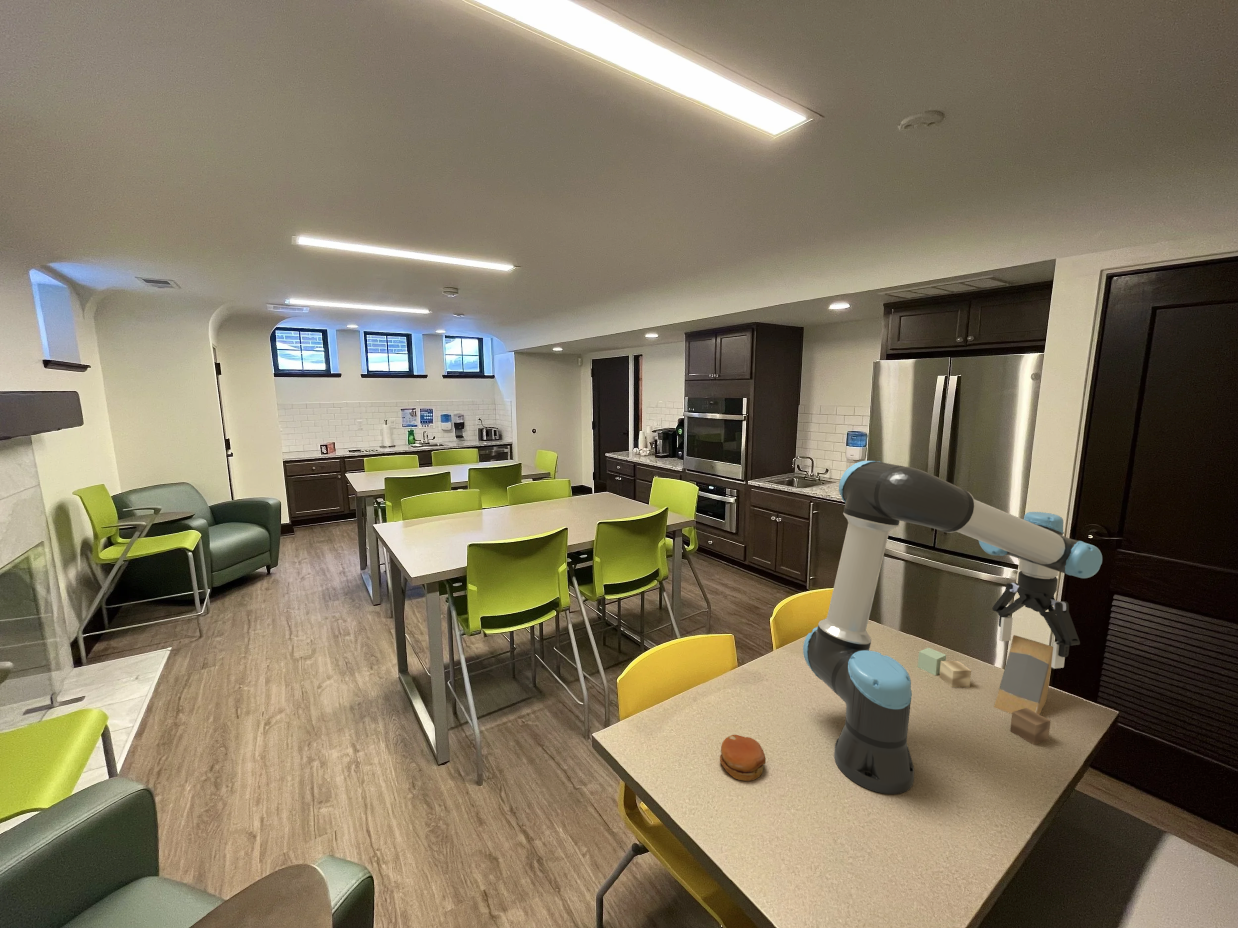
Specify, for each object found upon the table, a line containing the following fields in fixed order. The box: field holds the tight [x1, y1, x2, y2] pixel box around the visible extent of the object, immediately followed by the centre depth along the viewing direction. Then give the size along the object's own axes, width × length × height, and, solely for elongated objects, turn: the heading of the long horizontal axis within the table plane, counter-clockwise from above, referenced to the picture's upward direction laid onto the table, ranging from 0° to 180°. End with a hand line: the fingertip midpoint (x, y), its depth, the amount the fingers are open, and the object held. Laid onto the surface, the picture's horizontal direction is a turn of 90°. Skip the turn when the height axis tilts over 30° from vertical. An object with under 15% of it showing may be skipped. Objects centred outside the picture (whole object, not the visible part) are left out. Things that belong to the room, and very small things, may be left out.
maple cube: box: [938, 660, 972, 689], centre depth 135 cm, size 5×5×5 cm
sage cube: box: [917, 647, 947, 676], centre depth 142 cm, size 5×5×5 cm
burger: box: [719, 734, 766, 782], centre depth 105 cm, size 10×9×5 cm
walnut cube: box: [1009, 708, 1051, 746], centre depth 114 cm, size 5×5×5 cm
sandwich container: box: [993, 634, 1053, 715], centre depth 125 cm, size 9×15×15 cm, turn 130°
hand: (1029, 653), depth 125 cm, fingers open, 13 cm apart
